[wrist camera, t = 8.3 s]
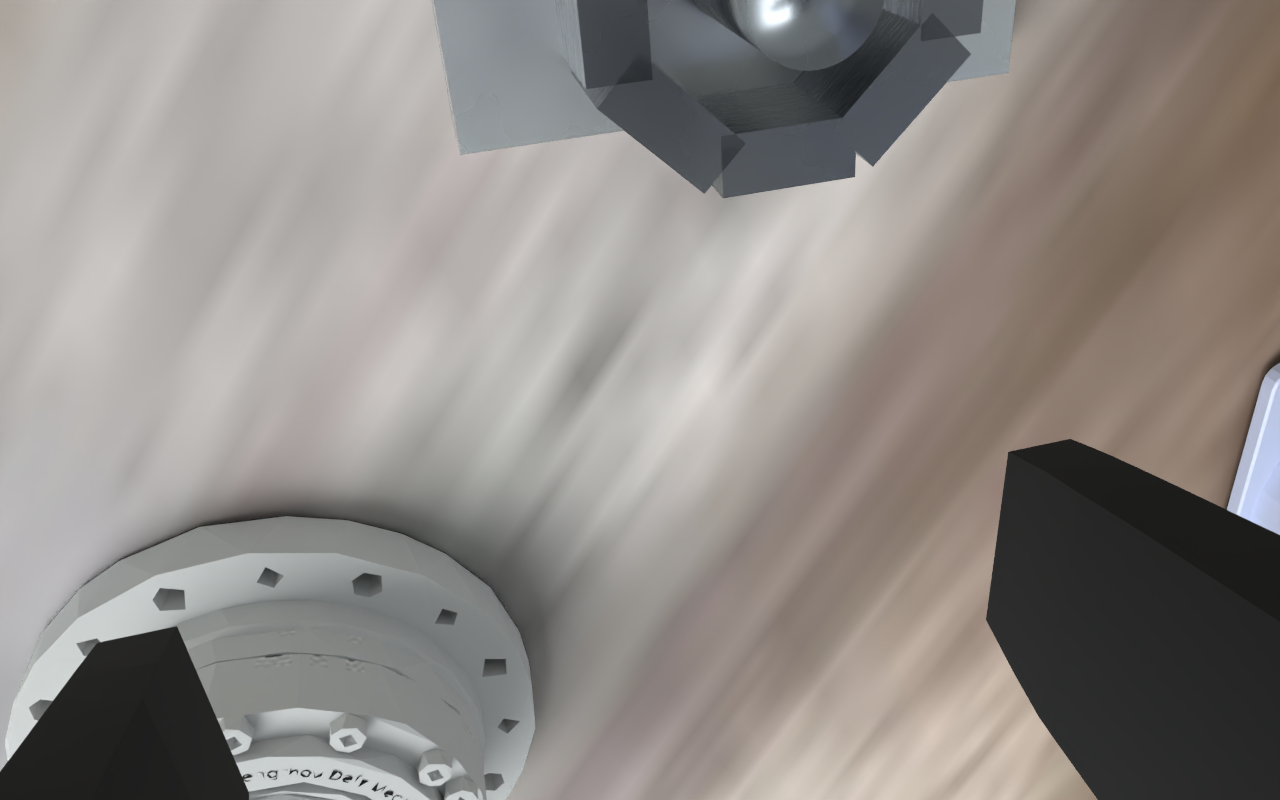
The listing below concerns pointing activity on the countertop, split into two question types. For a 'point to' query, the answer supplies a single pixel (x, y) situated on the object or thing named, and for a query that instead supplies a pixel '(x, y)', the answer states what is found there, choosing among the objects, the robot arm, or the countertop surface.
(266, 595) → the mechanical component
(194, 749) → the robot arm
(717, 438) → the countertop surface
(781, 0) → the piston block
